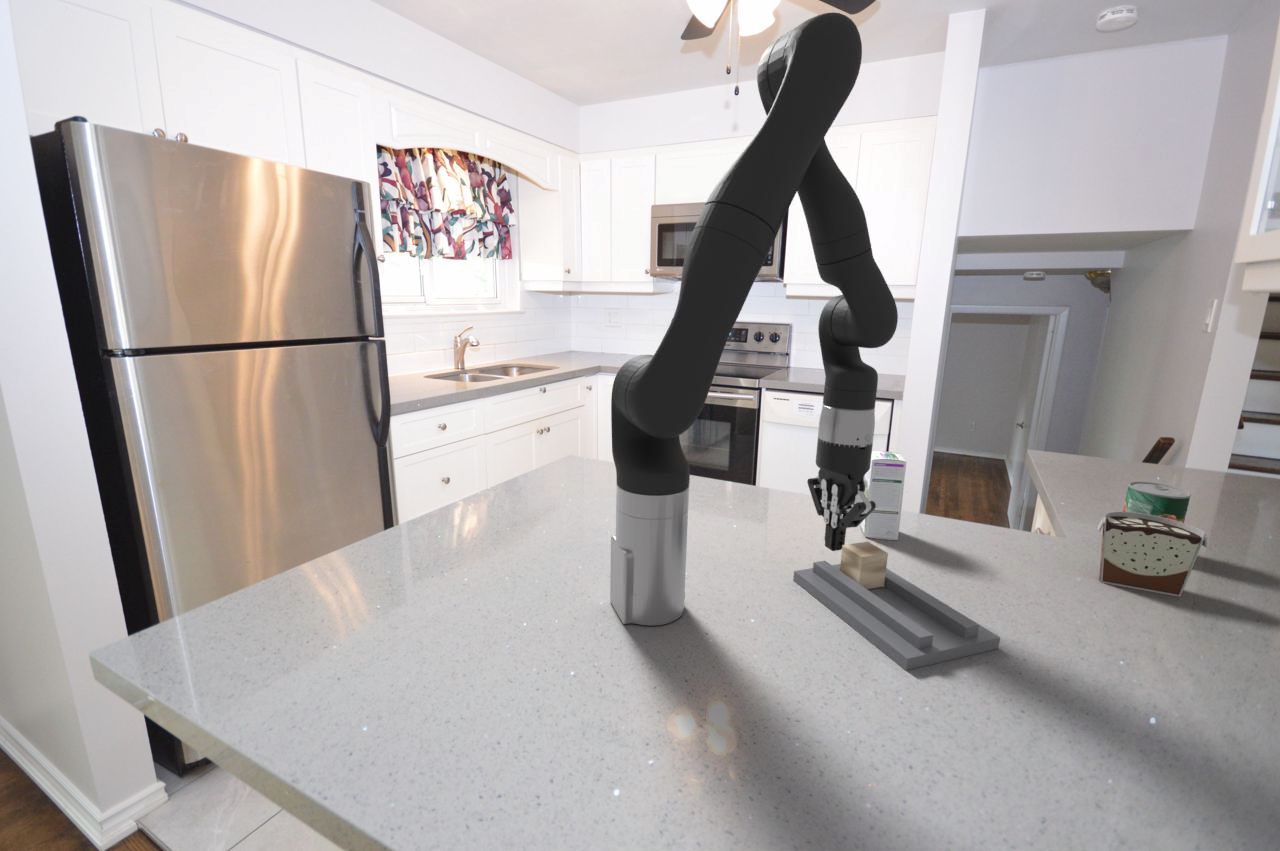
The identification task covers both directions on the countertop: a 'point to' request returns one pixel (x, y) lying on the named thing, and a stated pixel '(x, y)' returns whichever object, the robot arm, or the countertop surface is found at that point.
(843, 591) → the grey rail board
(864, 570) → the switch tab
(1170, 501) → the canned tomato
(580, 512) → the countertop surface
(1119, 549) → the food container
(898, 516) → the syrup box
